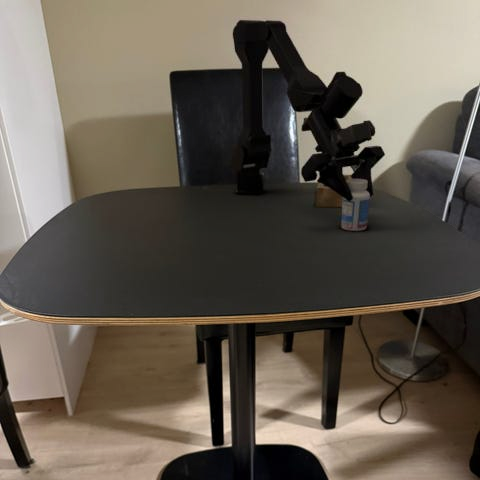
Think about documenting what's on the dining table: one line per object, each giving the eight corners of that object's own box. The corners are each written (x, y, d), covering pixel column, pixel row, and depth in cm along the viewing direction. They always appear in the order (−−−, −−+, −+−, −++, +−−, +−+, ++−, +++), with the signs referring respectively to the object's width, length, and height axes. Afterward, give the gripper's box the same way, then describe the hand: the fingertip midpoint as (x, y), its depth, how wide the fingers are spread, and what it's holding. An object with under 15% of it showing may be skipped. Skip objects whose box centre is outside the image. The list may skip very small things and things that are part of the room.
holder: (316, 206, 117) (317, 187, 114) (318, 190, 131) (319, 173, 129) (353, 207, 115) (355, 188, 113) (351, 191, 129) (353, 174, 127)
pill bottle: (365, 224, 104) (370, 177, 99) (368, 231, 99) (373, 183, 94) (339, 223, 104) (343, 177, 100) (341, 231, 99) (345, 183, 95)
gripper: (313, 109, 89) (350, 180, 86) (383, 103, 98) (419, 168, 95) (286, 148, 99) (318, 213, 96) (352, 140, 107) (383, 199, 104)
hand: (361, 197), depth 97 cm, fingers closed on pill bottle, 5 cm apart
